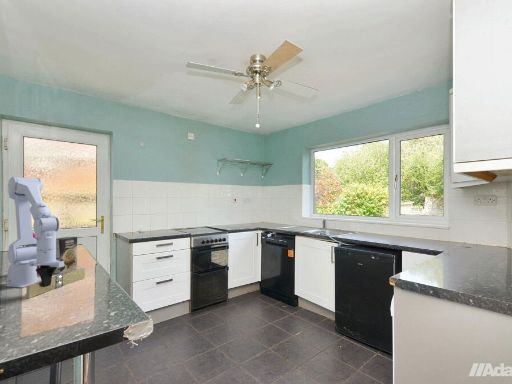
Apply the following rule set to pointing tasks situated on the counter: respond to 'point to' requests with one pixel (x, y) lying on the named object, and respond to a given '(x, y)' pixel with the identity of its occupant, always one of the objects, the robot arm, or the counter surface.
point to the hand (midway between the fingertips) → (46, 286)
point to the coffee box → (66, 254)
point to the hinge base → (71, 277)
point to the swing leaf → (38, 289)
